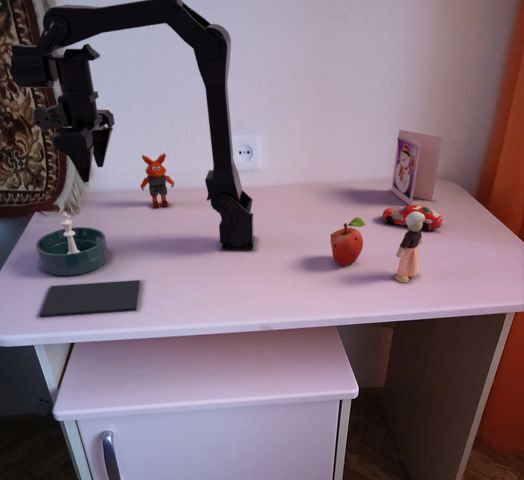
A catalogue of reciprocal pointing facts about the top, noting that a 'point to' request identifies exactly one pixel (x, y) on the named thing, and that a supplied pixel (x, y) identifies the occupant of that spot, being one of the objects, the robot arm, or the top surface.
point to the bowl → (61, 263)
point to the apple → (347, 243)
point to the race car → (400, 213)
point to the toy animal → (156, 180)
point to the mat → (91, 298)
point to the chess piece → (69, 233)
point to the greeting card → (416, 165)
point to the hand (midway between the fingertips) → (93, 174)
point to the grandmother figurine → (410, 247)
